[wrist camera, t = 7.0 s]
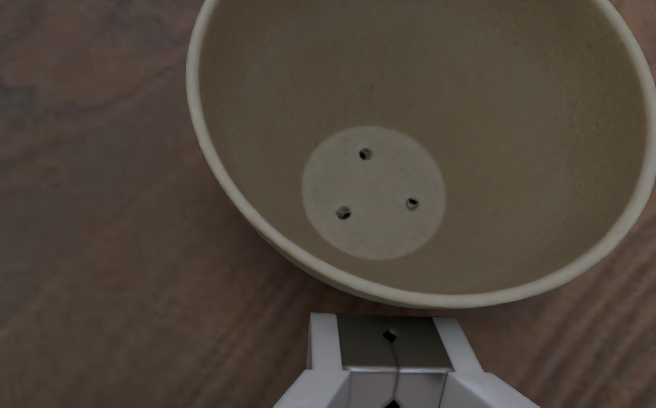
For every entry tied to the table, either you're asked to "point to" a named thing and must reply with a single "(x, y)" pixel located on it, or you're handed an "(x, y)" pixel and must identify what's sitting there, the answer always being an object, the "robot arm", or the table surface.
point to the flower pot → (427, 139)
